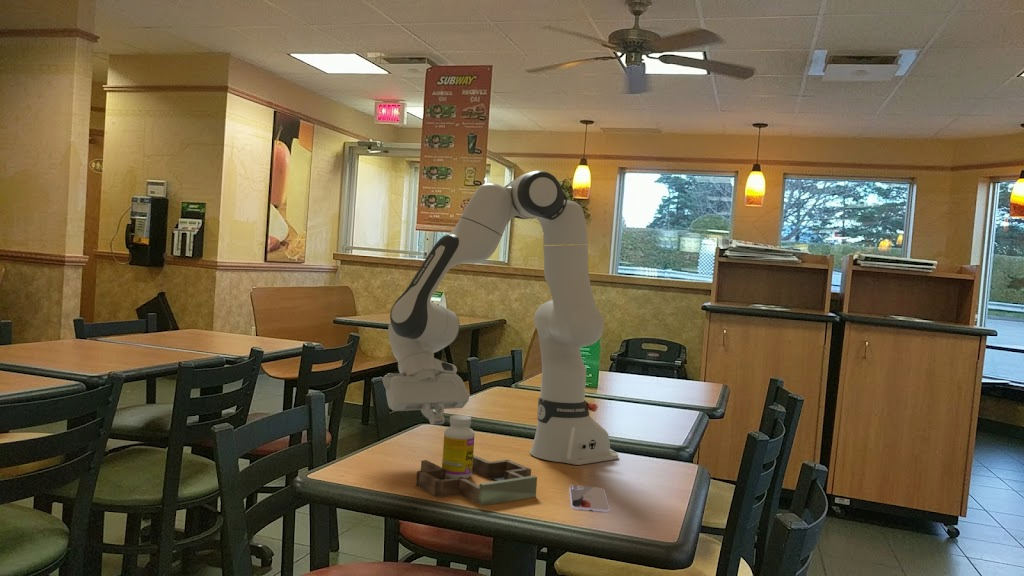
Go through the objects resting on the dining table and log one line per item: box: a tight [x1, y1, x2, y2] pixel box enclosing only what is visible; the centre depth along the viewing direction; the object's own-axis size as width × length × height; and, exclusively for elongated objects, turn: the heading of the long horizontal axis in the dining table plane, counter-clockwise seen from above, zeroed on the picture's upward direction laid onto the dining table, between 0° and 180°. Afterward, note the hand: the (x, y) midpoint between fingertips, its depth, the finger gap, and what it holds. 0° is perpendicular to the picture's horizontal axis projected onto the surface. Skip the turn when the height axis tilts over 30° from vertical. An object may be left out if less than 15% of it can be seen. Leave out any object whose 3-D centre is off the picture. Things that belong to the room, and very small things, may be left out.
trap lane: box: [415, 454, 538, 507], centre depth 151 cm, size 23×23×4 cm
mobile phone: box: [568, 484, 611, 513], centre depth 147 cm, size 8×1×15 cm
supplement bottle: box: [441, 414, 476, 479], centre depth 157 cm, size 7×7×13 cm
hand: (438, 423), depth 163 cm, fingers closed
